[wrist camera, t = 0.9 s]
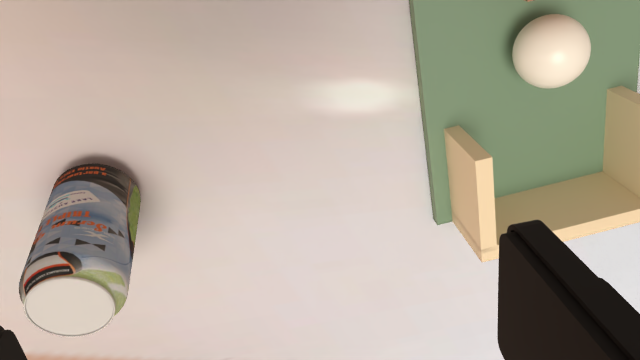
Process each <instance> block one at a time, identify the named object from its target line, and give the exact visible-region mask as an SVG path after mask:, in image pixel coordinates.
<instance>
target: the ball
mask: <svg viewBox="0 0 640 360" xmlns="http://www.w3.org/2000/svg"><path fill="white" fill-rule="evenodd" d="M590 53H591V43H590V38H589V35H588V33H587V31H586V30H585V28H584V27H583V26H582V25H581V24H580V23H579V22H578V21H576V20H575V19H573V18H571V17H569V16H566V15H561V14H549V15H544V16H541V17H538V18H536V19H534V20H532V21H531V22H529V23H528V24H527V25H526V26H525V27H524V28H523V29H522V30H521V31H520V32H519V34H518V36H517V37H516V40H515V42H514V45H513V51H512V58H513V63H514V66H515V69H516V71H517V73H518V74H519V75H520V76H521V78H522V79H524V80H525V81H526V82H527V83H529V84H531V85H533V86H536V87H539V88H546V89H548V88H558V87H561V86H564V85H566V84H568V83H570V82H572V81H573V80H575V79H576V78H577V77H578V76H579V75H580V74H581V73H582V72H583V70H584V69H585V67H586V66H587V64H588V61H589V58H590Z"/></svg>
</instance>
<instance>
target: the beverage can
mask: <svg viewBox="0 0 640 360" xmlns="http://www.w3.org/2000/svg"><path fill="white" fill-rule="evenodd" d="M140 202H141V199H140V193H139V190H138V188H137V186H136V184H135V183H134V182H133V180H132V179H131V178H130V177H128V176H127V175H126V174H125V173H123V172H121V171H120V170H118V169H115V168H113V167H110V166H106V165H101V164H85V165H80V166H76V167H73V168H71V169H69V170H67V171H66V172H64V173H63V174H62V175H61V176H60V177H59V178H58V179H57V181H56V182H55V184H54V187H53V190H52V192H51V195H50V198H49V201H48V203H47V206H46V209H45V212H44V215H43V217H42V220H41V223H40V226H39V228H38V231H37V234H36V237H35V240H34V242H33V245H32V248H31V251H30V253H29V256H28V259H27V262H26V264H25V267H24V270H23V273H22V276H21V279H20V282H19V294H20V298H21V301H22V303H23V304H24V312H25V315H26V316H27V318H28V320H29V321H30V322H31V323H32V324H33V325H34V326H36V327H37V328H39V329H40V330H42V331H44V332H47V333H49V334H52V335H56V336H62V337H81V336H87V335H90V334H94V333H96V332H98V331H100V330H102V329H103V328H105V327H106V326H107V325H108V324H109V323H110V322H111V320H112V319H113V317H114V316H115V315H116V314H117V313H118V312H119V311H120V310H121V308H122V307H123V305H124V303H125V301H126V299H127V295H128V288H129V281H130V274H131V267H132V260H133V253H134V245H135V238H136V231H137V224H138V217H139V210H140Z"/></svg>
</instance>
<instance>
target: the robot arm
mask: <svg viewBox="0 0 640 360" xmlns="http://www.w3.org/2000/svg"><path fill="white" fill-rule="evenodd" d="M498 344H499V348H500V351H501V353H502V355H503V357H504V359H505V360H640V314H639V313H638V312H637V311H636V310H635V309H634V308H633V307H632V306H631V305H630V304H629V303H628V302H627V301H626V300H625V299H624V298H623V297H622V296H621V295H620V294H619V293H618V292H617V291H616V290H615V289H614V288H613V287H612V286H611V285H610V284H609V283H607V282H606V281H605V280H603V279H602V278H598V277H597V276H596V275H595V274H594V273H593V272H592V271H591V270H590V269H589V268H588V267H587V266H586V265H585V264H584V263H583V262H582V261H581V260H580V259H579V258H578V257H577V256H576V255H575V254H574V253H573V252H572V251H571V250H570V249H569V248H568V247H567V246H566V245H565V244H564V243H563V242H562V241H561V240H560V239H559V238H558V237H557V236H556V235H555V234H554V233H553V232H552V231H551V230H550V229H549V228H548V227H547V226H546V225H545V224H544V223H543V222H542V221H541V220H532V221H527V222H522V223H517V224H512V225H510V226H508V229H507V233H504V234H501V235H500V238H499V282H498ZM0 360H27V358H26V356H25V354H24V352H23V350H22V348H21V346H20V344H19V342H18V340H17V338H16V336H15V334H14V333H13V332H12V331H11V330H4V329H3V327H2V326H0Z"/></svg>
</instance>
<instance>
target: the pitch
mask: <svg viewBox="0 0 640 360" xmlns="http://www.w3.org/2000/svg"><path fill="white" fill-rule="evenodd" d="M409 5H410V14H411V23H412V32H413V41H414V49H415V58H416V67H417V76H418V85H419V94H420V103H421V112H422V121H423V130H424V139H425V147H426V156H427V165H428V174H429V183H430V192H431V201H432V210H433V219H434V221H435V222H436V224H437V225H440V224H444V223H448V222H452V221H453V223H454V224H455V226H456V227H457V228H458V230H459V231H460V233H461V234H462V235H463V237H464V238H465V240H466V241H467V242H468V244H469V245H470V246H471V248H472V249H473V251H474V252H475V253H476V255H477V256H478V258H479V259H480V260H481V262H486V261H490V260H494V259H498V258H499V238H500V235H501V234H504V233H507V229H508V226H510V225H512V224H517V223H522V222H527V221H532V220H541V221H542V222H543V223H544V224H545V225H546V226H547V227H548V228H549V229H550V230H551V231H552V232H553V233H554V234H555V235H556V236H557V237H558V238H559V239H560V240H561V241H562V242H564V241H568V240H572V239H576V238H579V237H583V236H587V235H591V234H595V233H599V232H603V231H607V230H611V229H615V228H618V227H622V226H626V225H630V224H634V223H638V222H640V94H639V93H637V81H638V68H639V56H640V0H533V1H529V2H527V1H524V0H409ZM549 14H561V15H566V16H569V17H571V18H573V19H575V20H576V21H578V22H579V23H580V24H581V25H582V26H583V27H584V28H585V30H586V31H587V33H588V35H589V38H590V43H591V53H590V58H589V61H588V64H587V66H586V67H585V69H584V70H583V72H582V73H581V74H580V75H579V76H578V77H577V78H576V79H575V80H573V81H572V82H570V83H568V84H566V85H564V86H561V87H558V88H548V89H546V88H539V87H536V86H533V85H531V84H529V83H527V82H526V81H525V80H524V79H522V78H521V76H520V75H519V74H518V73H517V71H516V69H515V66H514V63H513V58H512V51H513V45H514V42H515V40H516V37H517V36H518V34H519V32H520V31H521V30H522V29H523V28H524V27H525V26H526V25H527V24H528V23H529V22H531V21H532V20H534V19H536V18H538V17H541V16H544V15H549Z"/></svg>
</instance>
